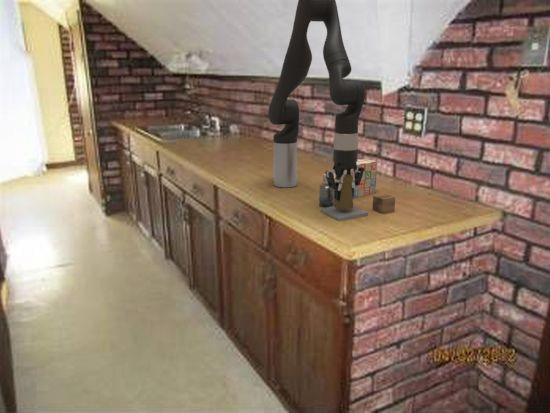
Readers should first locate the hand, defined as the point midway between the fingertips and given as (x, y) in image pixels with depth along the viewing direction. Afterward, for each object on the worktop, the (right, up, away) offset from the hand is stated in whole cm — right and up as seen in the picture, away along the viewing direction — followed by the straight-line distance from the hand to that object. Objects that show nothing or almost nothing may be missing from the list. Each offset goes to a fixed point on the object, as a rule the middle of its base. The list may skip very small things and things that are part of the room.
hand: (343, 199), depth 152 cm
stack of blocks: (+5, +1, +21) cm, 21 cm away
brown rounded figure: (0, -2, +1) cm, 2 cm away
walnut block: (+13, -4, +4) cm, 14 cm away
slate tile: (0, -4, +1) cm, 5 cm away
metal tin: (-5, -2, +10) cm, 11 cm away
